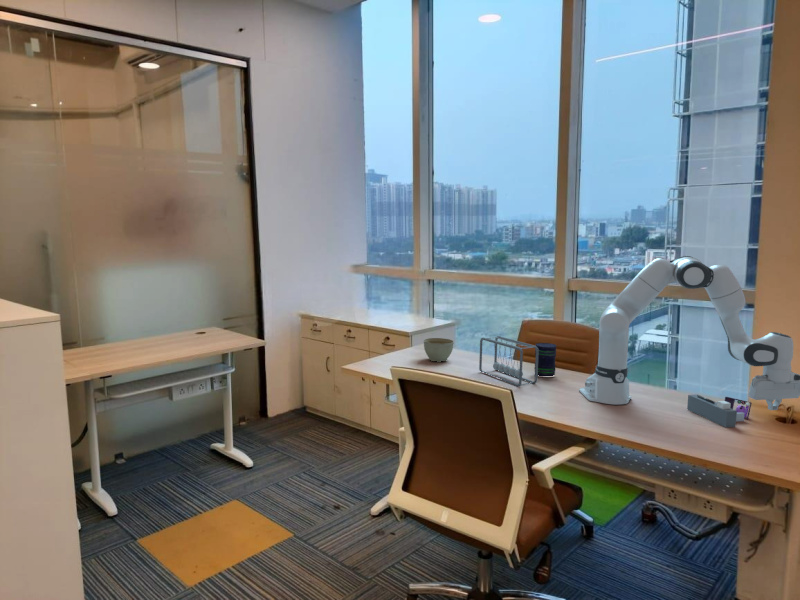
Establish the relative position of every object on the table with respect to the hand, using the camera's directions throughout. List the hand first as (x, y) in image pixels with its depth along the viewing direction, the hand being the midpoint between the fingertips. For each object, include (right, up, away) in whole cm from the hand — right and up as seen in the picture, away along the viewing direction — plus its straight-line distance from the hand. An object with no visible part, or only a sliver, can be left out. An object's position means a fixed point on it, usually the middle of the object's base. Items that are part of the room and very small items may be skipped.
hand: (772, 409), depth 211 cm
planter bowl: (-123, +10, +82) cm, 148 cm away
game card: (-15, -2, -1) cm, 15 cm away
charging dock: (-23, -2, -4) cm, 23 cm away
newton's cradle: (-93, +5, +48) cm, 105 cm away
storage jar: (-74, +6, +54) cm, 92 cm away
